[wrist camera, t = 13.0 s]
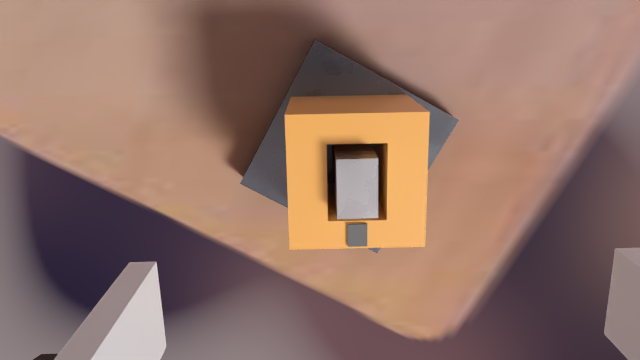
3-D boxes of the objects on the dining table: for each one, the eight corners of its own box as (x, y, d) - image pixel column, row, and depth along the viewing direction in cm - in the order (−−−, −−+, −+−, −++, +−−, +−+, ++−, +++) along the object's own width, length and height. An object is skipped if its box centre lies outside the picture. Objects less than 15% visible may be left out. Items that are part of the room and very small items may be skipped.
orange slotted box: (290, 96, 33) (284, 115, 26) (406, 94, 33) (430, 112, 26) (294, 206, 35) (289, 250, 28) (403, 204, 35) (425, 247, 28)
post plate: (243, 177, 36) (218, 228, 27) (315, 39, 34) (315, 44, 24) (374, 244, 37) (394, 315, 28) (452, 116, 35) (501, 148, 26)
